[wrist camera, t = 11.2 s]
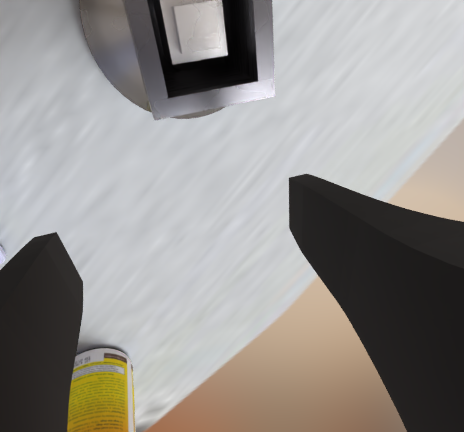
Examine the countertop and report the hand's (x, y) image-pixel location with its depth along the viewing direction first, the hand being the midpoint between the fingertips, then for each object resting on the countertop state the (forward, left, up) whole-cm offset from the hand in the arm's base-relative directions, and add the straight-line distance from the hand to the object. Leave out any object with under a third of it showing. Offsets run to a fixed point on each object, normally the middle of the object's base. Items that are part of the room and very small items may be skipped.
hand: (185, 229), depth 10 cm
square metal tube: (+2, +5, -9) cm, 11 cm away
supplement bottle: (-10, -19, -11) cm, 24 cm away
